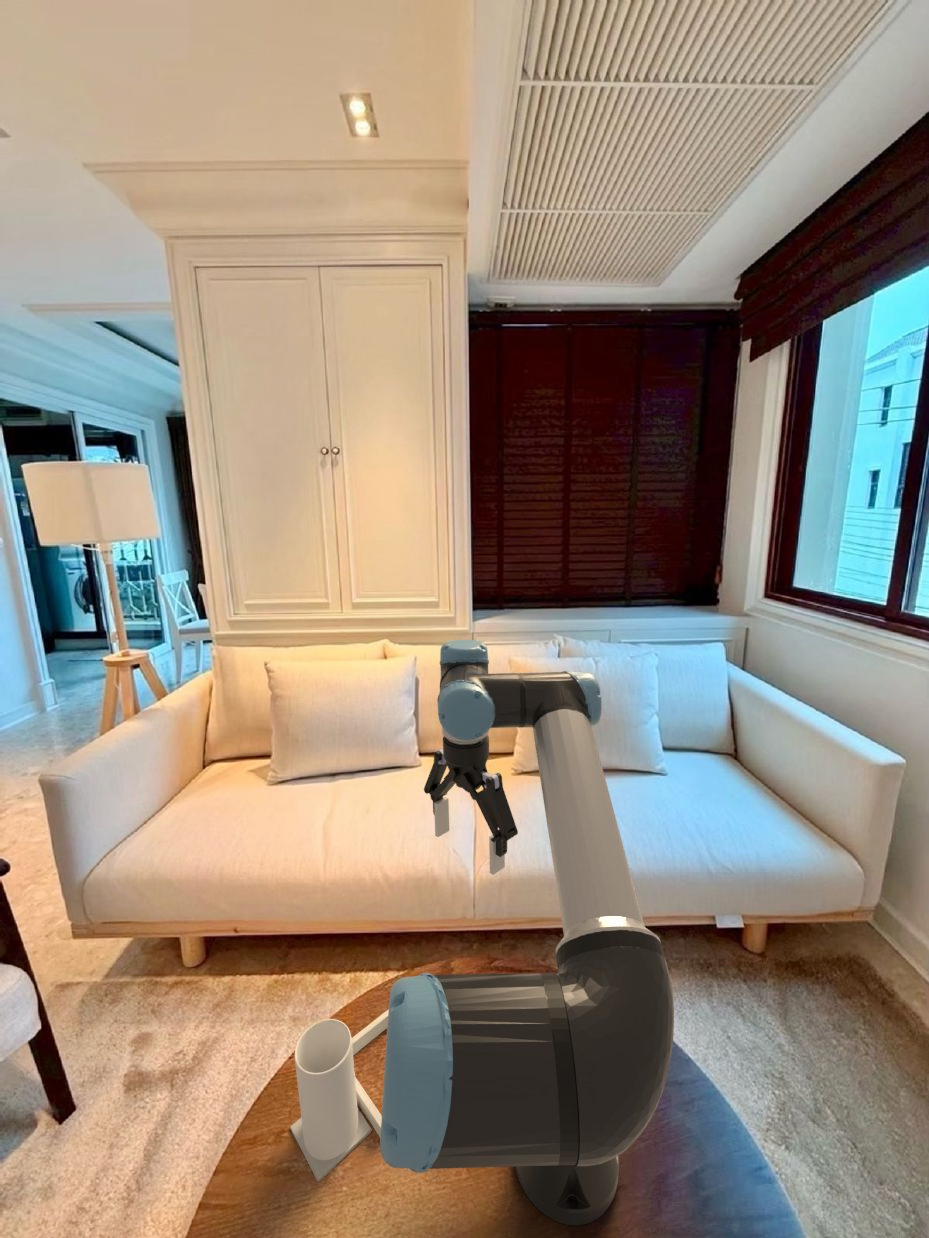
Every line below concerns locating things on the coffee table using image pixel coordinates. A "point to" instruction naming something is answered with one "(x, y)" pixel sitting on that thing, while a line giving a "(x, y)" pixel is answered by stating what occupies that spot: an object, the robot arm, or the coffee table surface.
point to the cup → (327, 1088)
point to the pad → (325, 1166)
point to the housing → (362, 1097)
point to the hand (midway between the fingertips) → (468, 850)
